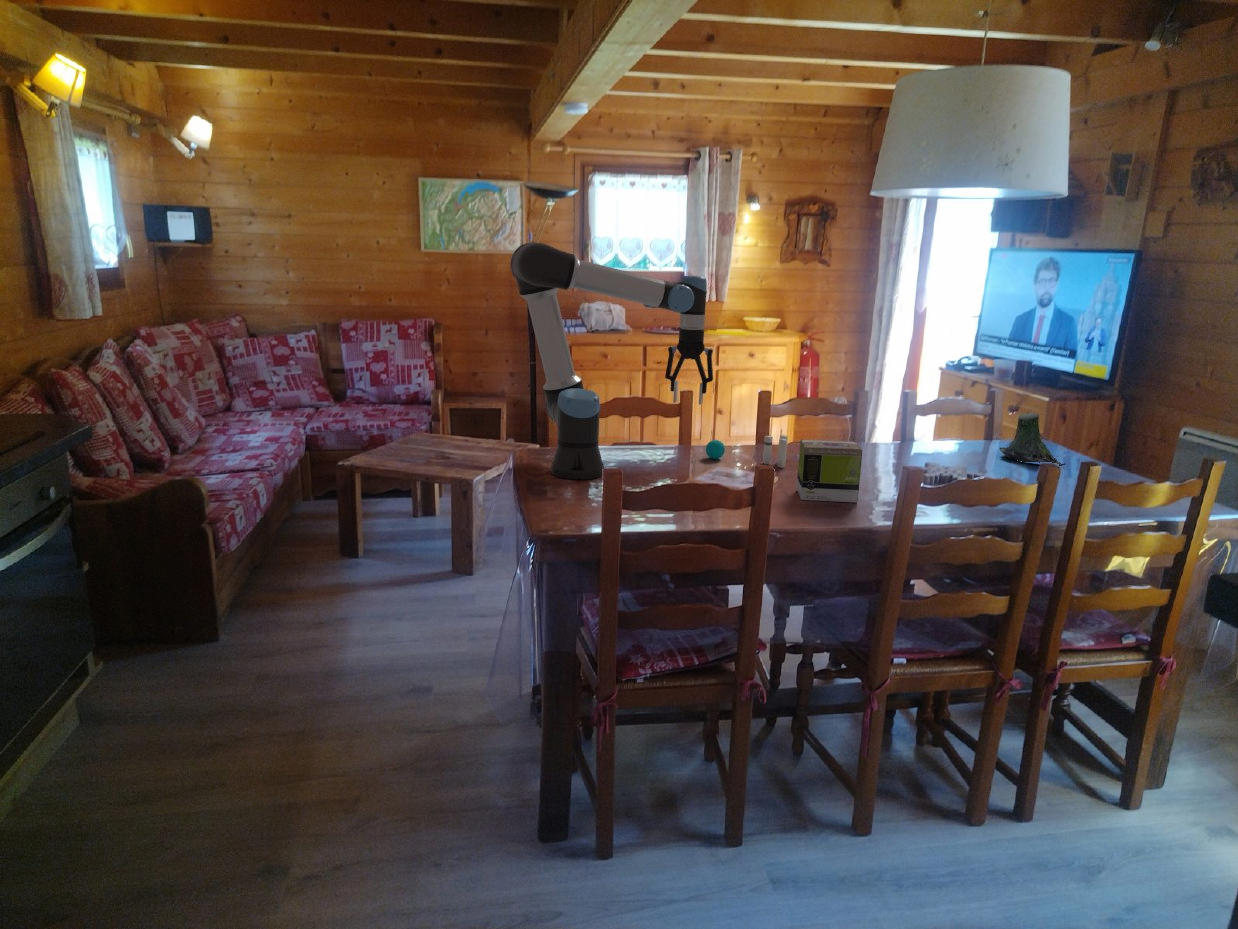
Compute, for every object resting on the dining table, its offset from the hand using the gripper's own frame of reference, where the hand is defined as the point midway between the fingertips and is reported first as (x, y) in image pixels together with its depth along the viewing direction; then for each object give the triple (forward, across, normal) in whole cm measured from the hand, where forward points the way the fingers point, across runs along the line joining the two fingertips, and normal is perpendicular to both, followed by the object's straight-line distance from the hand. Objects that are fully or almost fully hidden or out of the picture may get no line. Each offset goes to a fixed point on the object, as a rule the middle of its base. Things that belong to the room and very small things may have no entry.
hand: (687, 402), depth 251 cm
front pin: (+17, -26, 0) cm, 31 cm away
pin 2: (+17, -30, +2) cm, 35 cm away
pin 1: (+17, -30, -2) cm, 35 cm away
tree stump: (+17, -109, -36) cm, 116 cm away
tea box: (+17, -43, +30) cm, 55 cm away
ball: (+14, -9, 0) cm, 17 cm away
